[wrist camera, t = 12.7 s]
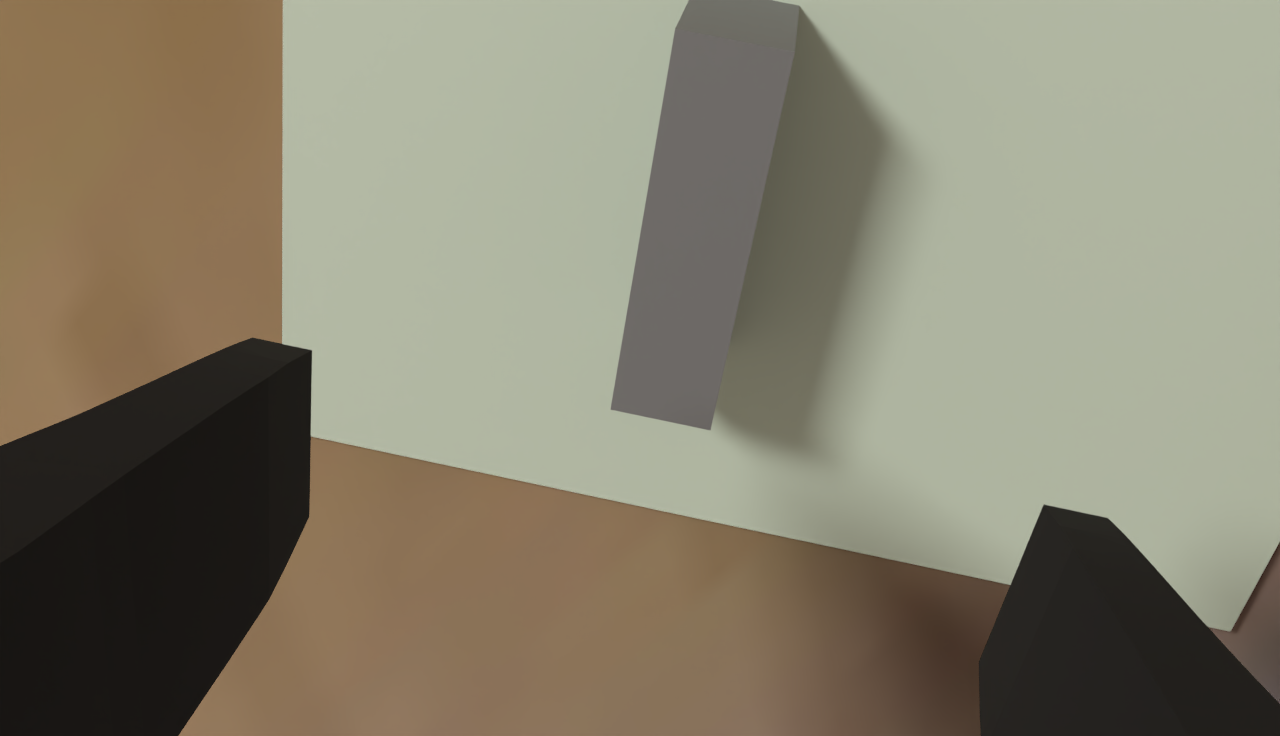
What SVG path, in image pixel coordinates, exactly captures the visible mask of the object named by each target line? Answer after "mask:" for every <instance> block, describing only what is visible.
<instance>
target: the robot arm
mask: <svg viewBox="0 0 1280 736" xmlns="http://www.w3.org/2000/svg"><path fill="white" fill-rule="evenodd" d="M311 383H312V350H308V349H304V348H299V347H294V346H289V345H285V344H280V343H275V342H270V341H266V340H261V339H256V338H250V339H248V340H245V341H242V342H239V343H237V344H234V345H232V346H229V347H227V348H225V349H222V350H220V351H218V352H215V353H213V354H211V355H209V356H206V357H204V358H202V359H200V360H197V361H195V362H193V363H191V364H189V365H187V366H184V367H182V368H180V369H178V370H176V371H173V372H171V373H169V374H167V375H165V376H163V377H160V378H158V379H156V380H154V381H152V382H150V383H147V384H145V385H143V386H141V387H139V388H136V389H134V390H132V391H130V392H127V393H125V394H123V395H121V396H119V397H116V398H114V399H112V400H110V401H107V402H105V403H103V404H101V405H99V406H96V407H94V408H92V409H90V410H88V411H85V412H83V413H81V414H78V415H76V416H74V417H71V418H69V419H66V420H64V421H61V422H59V423H56V424H54V425H51V426H49V427H47V428H44V429H42V430H39V431H37V432H34V433H32V434H29V435H27V436H24V437H22V438H19V439H17V440H14V441H12V442H9V443H7V444H4V445H2V446H0V736H178V735H179V734H180V732H181V731H182V729H183V728H184V726H185V725H186V723H187V722H188V720H189V719H190V717H191V716H192V714H193V713H194V711H195V710H196V709H197V707H198V706H199V704H200V703H201V701H202V700H203V698H204V697H205V695H206V694H207V692H208V691H209V689H210V688H211V686H212V685H213V683H214V682H215V680H216V679H217V677H218V676H219V674H220V673H221V671H222V670H223V669H224V667H225V666H226V664H227V663H228V661H229V660H230V658H231V657H232V655H233V654H234V652H235V651H236V649H237V647H238V646H239V644H240V643H241V641H242V640H243V638H244V637H245V635H246V634H247V632H248V631H249V629H250V628H251V626H252V625H253V623H254V622H255V620H256V619H257V617H258V616H259V614H260V613H261V611H262V609H263V608H264V606H265V605H266V603H267V602H268V600H269V598H270V596H271V594H272V592H273V590H274V589H275V587H276V585H277V583H278V581H279V579H280V577H281V575H282V573H283V571H284V569H285V567H286V565H287V563H288V561H289V558H290V556H291V554H292V552H293V550H294V548H295V546H296V543H297V541H298V539H299V537H300V535H301V533H302V531H303V528H304V526H305V524H306V522H307V520H308V518H309V497H310V440H311ZM979 691H980V726H981V736H1280V704H1279V703H1278V702H1277V701H1276V700H1275V699H1274V698H1273V697H1272V696H1271V694H1270V693H1269V692H1268V691H1267V690H1266V689H1265V688H1264V687H1263V686H1262V685H1261V684H1260V683H1259V682H1258V681H1257V680H1256V679H1255V678H1254V677H1253V676H1252V675H1251V674H1250V672H1249V671H1248V670H1247V669H1246V668H1245V667H1244V666H1243V665H1242V664H1241V663H1240V662H1239V661H1238V660H1237V659H1236V657H1235V656H1234V655H1233V654H1232V653H1231V652H1230V651H1229V650H1228V649H1227V648H1226V647H1225V645H1224V644H1223V643H1222V642H1221V641H1220V640H1219V639H1218V638H1217V637H1216V636H1215V635H1214V633H1213V632H1212V631H1211V630H1210V629H1209V628H1208V627H1207V626H1206V625H1205V623H1204V622H1203V621H1202V620H1201V619H1200V618H1199V617H1198V616H1197V615H1196V613H1195V612H1194V611H1193V610H1192V609H1191V608H1190V607H1189V606H1188V604H1187V603H1186V602H1185V601H1184V600H1183V599H1182V598H1181V597H1180V595H1179V594H1178V593H1177V592H1176V591H1175V590H1174V589H1173V588H1172V586H1171V585H1170V584H1169V583H1168V582H1167V581H1166V580H1165V578H1164V577H1163V576H1162V575H1161V574H1160V573H1159V572H1158V571H1157V569H1156V568H1155V567H1154V566H1153V565H1152V564H1151V563H1150V562H1149V561H1148V559H1147V558H1146V557H1145V556H1144V555H1143V554H1142V553H1141V552H1140V551H1139V549H1138V548H1137V547H1136V546H1135V545H1134V544H1133V543H1132V542H1131V541H1130V540H1129V539H1128V538H1127V537H1126V536H1125V534H1124V533H1123V532H1122V531H1121V530H1120V529H1119V528H1118V527H1117V526H1116V525H1115V524H1114V523H1113V522H1111V521H1110V520H1109V519H1108V518H1106V517H1101V516H1096V515H1092V514H1087V513H1082V512H1077V511H1073V510H1068V509H1063V508H1058V507H1054V506H1049V505H1043V507H1042V509H1041V512H1040V514H1039V517H1038V519H1037V522H1036V524H1035V527H1034V529H1033V531H1032V534H1031V536H1030V539H1029V541H1028V544H1027V546H1026V549H1025V551H1024V553H1023V556H1022V558H1021V561H1020V563H1019V566H1018V568H1017V570H1016V573H1015V575H1014V578H1013V580H1012V583H1011V585H1010V588H1009V590H1008V592H1007V595H1006V597H1005V600H1004V602H1003V605H1002V607H1001V610H1000V612H999V614H998V617H997V619H996V622H995V624H994V627H993V629H992V631H991V634H990V636H989V639H988V641H987V644H986V646H985V649H984V651H983V653H982V656H981V658H980V661H979Z"/></svg>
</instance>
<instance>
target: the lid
mask: <svg viewBox="0 0 1280 736" xmlns="http://www.w3.org/2000/svg"><path fill="white" fill-rule="evenodd" d="M282 344H285V345H289V346H294V347H299V348H304V349H308V350H312V383H311V436H312V437H316V438H321V439H326V440H331V441H335V442H340V443H345V444H349V445H354V446H359V447H363V448H368V449H373V450H378V451H382V452H387V453H392V454H396V455H401V456H406V457H411V458H415V459H420V460H425V461H429V462H434V463H439V464H444V465H448V466H453V467H458V468H462V469H467V470H472V471H476V472H481V473H486V474H491V475H495V476H500V477H505V478H509V479H514V480H519V481H524V482H528V483H533V484H538V485H542V486H547V487H552V488H556V489H561V490H566V491H571V492H575V493H580V494H585V495H589V496H594V497H599V498H604V499H608V500H613V501H618V502H622V503H627V504H632V505H637V506H641V507H646V508H651V509H655V510H660V511H665V512H669V513H674V514H679V515H684V516H688V517H693V518H698V519H702V520H707V521H712V522H717V523H721V524H726V525H731V526H735V527H740V528H745V529H749V530H754V531H759V532H764V533H768V534H773V535H778V536H782V537H787V538H792V539H797V540H801V541H806V542H811V543H815V544H820V545H825V546H830V547H834V548H839V549H844V550H848V551H853V552H858V553H862V554H867V555H872V556H877V557H881V558H886V559H891V560H895V561H900V562H905V563H910V564H914V565H919V566H924V567H928V568H933V569H938V570H942V571H947V572H952V573H957V574H961V575H966V576H971V577H975V578H980V579H985V580H990V581H994V582H999V583H1004V584H1008V585H1011V583H1012V580H1013V578H1014V575H1015V573H1016V570H1017V568H1018V566H1019V563H1020V561H1021V558H1022V556H1023V553H1024V551H1025V549H1026V546H1027V544H1028V541H1029V539H1030V536H1031V534H1032V531H1033V529H1034V527H1035V524H1036V522H1037V519H1038V517H1039V514H1040V512H1041V509H1042V507H1043V505H1049V506H1054V507H1058V508H1063V509H1068V510H1073V511H1077V512H1082V513H1087V514H1092V515H1096V516H1101V517H1106V518H1108V519H1109V520H1110V521H1111V522H1113V523H1114V524H1115V525H1116V526H1117V527H1118V528H1119V529H1120V530H1121V531H1122V532H1123V533H1124V534H1125V536H1126V537H1127V538H1128V539H1129V540H1130V541H1131V542H1132V543H1133V544H1134V545H1135V546H1136V547H1137V548H1138V549H1139V551H1140V552H1141V553H1142V554H1143V555H1144V556H1145V557H1146V558H1147V559H1148V561H1149V562H1150V563H1151V564H1152V565H1153V566H1154V567H1155V568H1156V569H1157V571H1158V572H1159V573H1160V574H1161V575H1162V576H1163V577H1164V578H1165V580H1166V581H1167V582H1168V583H1169V584H1170V585H1171V586H1172V588H1173V589H1174V590H1175V591H1176V592H1177V593H1178V594H1179V595H1180V597H1181V598H1182V599H1183V600H1184V601H1185V602H1186V603H1187V604H1188V606H1189V607H1190V608H1191V609H1192V610H1193V611H1194V612H1195V613H1196V615H1197V616H1198V617H1199V618H1200V619H1201V620H1202V621H1203V622H1204V623H1205V625H1206V626H1207V627H1211V628H1216V629H1220V630H1225V631H1230V632H1231V630H1232V628H1233V626H1234V624H1235V622H1236V621H1237V619H1238V617H1239V615H1240V613H1241V611H1242V610H1243V608H1244V606H1245V604H1246V602H1247V601H1248V599H1249V597H1250V595H1251V593H1252V591H1253V590H1254V588H1255V586H1256V584H1257V582H1258V581H1259V579H1260V577H1261V575H1262V573H1263V571H1264V570H1265V568H1266V566H1267V564H1268V562H1269V560H1270V559H1271V557H1272V555H1273V553H1274V551H1275V550H1276V548H1277V546H1278V544H1279V542H1280V0H283V215H282Z"/></svg>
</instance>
